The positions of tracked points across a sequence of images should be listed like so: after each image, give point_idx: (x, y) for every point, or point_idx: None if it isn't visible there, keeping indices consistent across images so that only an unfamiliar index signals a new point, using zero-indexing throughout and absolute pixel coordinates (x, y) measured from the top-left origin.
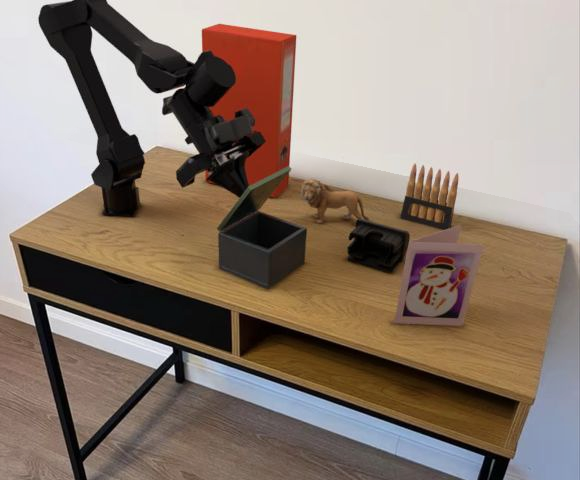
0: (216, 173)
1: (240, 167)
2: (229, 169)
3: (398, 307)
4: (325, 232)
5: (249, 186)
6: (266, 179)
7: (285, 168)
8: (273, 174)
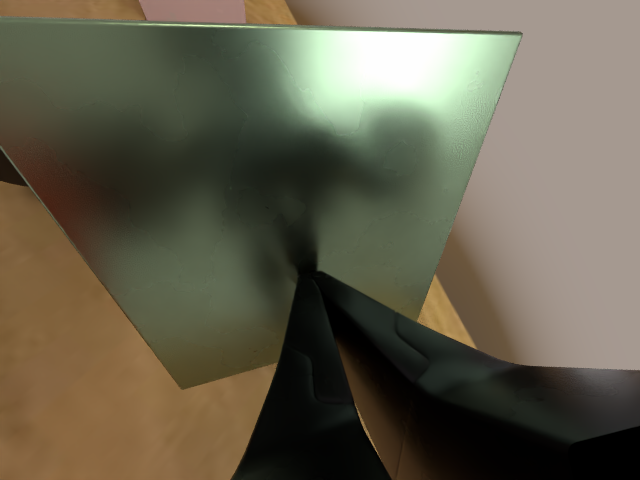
0: (623, 457)
1: (333, 435)
2: (552, 370)
3: (243, 14)
4: (9, 300)
5: (514, 31)
6: (349, 27)
7: (13, 19)
8: (244, 23)
